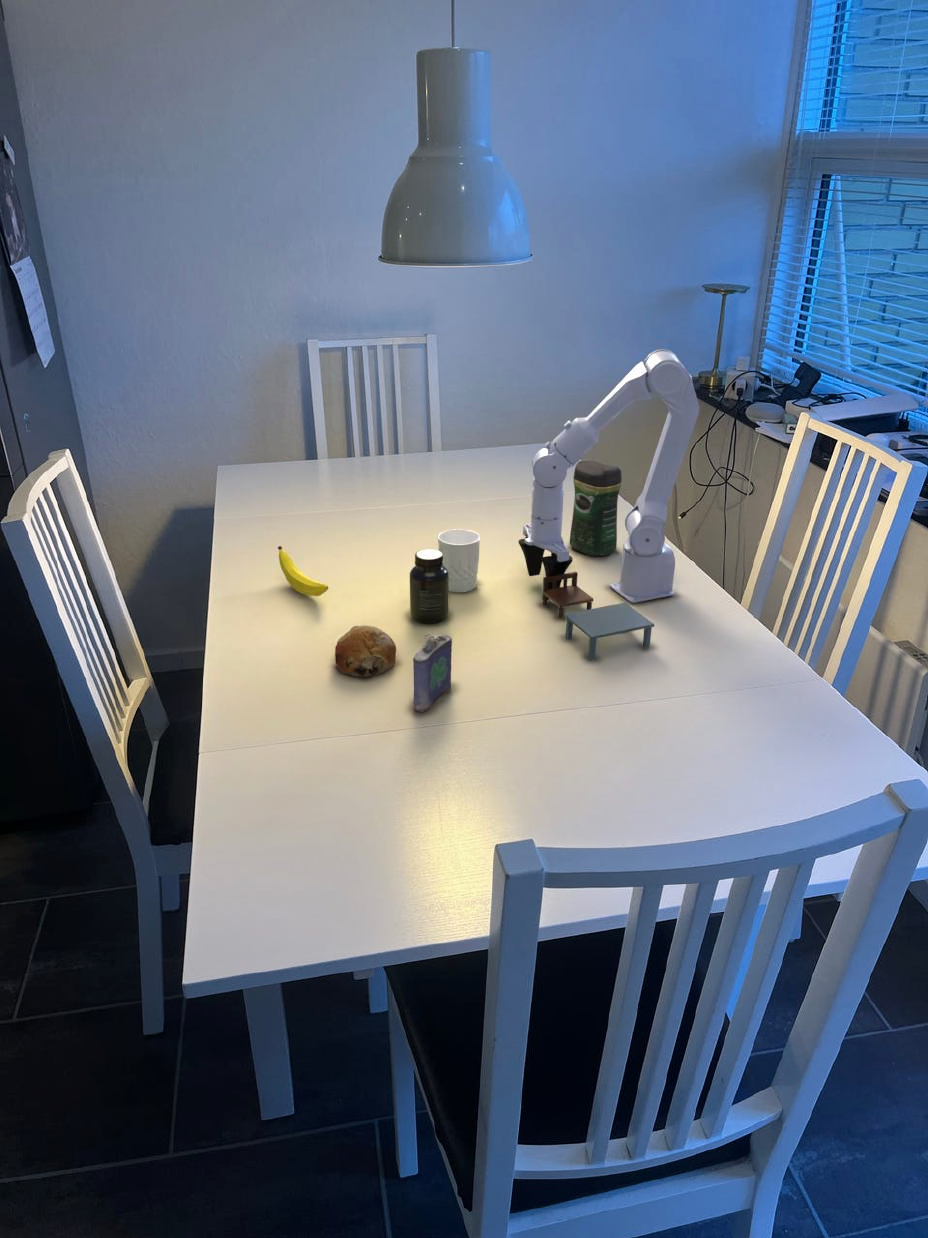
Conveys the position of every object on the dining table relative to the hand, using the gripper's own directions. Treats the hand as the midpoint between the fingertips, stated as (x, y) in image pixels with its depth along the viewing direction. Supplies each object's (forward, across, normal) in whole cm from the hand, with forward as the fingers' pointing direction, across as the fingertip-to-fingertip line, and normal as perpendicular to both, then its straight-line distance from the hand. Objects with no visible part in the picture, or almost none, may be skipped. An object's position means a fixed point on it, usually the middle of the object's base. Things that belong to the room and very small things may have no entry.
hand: (543, 582), depth 180 cm
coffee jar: (+2, -14, +19) cm, 24 cm away
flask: (+2, +28, -34) cm, 44 cm away
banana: (+2, -16, -42) cm, 45 cm away
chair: (+1, +9, 0) cm, 9 cm away
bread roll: (+2, +14, -40) cm, 43 cm away
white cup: (+2, -8, -14) cm, 16 cm away
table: (+1, +23, 0) cm, 23 cm away
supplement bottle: (+2, +2, -24) cm, 24 cm away
